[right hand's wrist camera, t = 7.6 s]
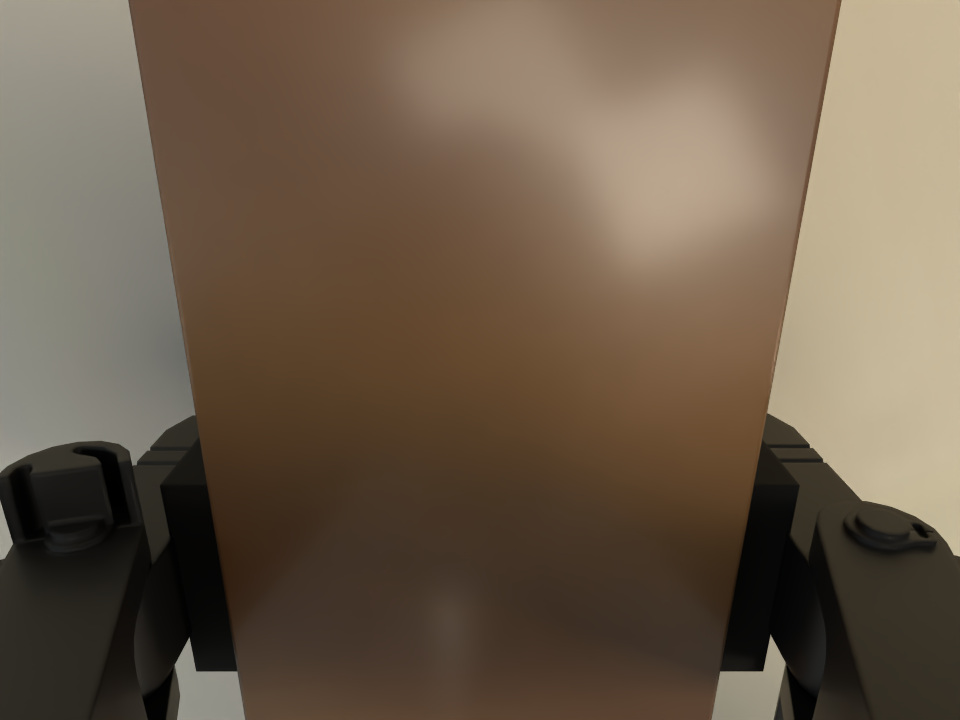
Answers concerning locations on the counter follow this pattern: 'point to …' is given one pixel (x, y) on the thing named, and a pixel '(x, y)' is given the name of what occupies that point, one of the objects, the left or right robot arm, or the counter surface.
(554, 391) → the post
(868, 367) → the counter surface
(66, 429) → the counter surface
